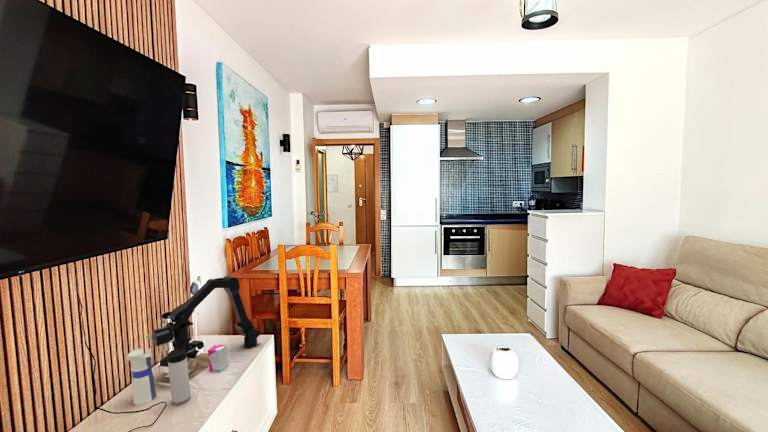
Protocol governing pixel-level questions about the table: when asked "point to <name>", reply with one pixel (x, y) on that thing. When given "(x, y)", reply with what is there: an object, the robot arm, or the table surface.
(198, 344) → the robot arm
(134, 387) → the water bottle
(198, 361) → the walnut board
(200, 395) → the table surface
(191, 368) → the sanding block
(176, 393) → the travel mug
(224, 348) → the supplement box
